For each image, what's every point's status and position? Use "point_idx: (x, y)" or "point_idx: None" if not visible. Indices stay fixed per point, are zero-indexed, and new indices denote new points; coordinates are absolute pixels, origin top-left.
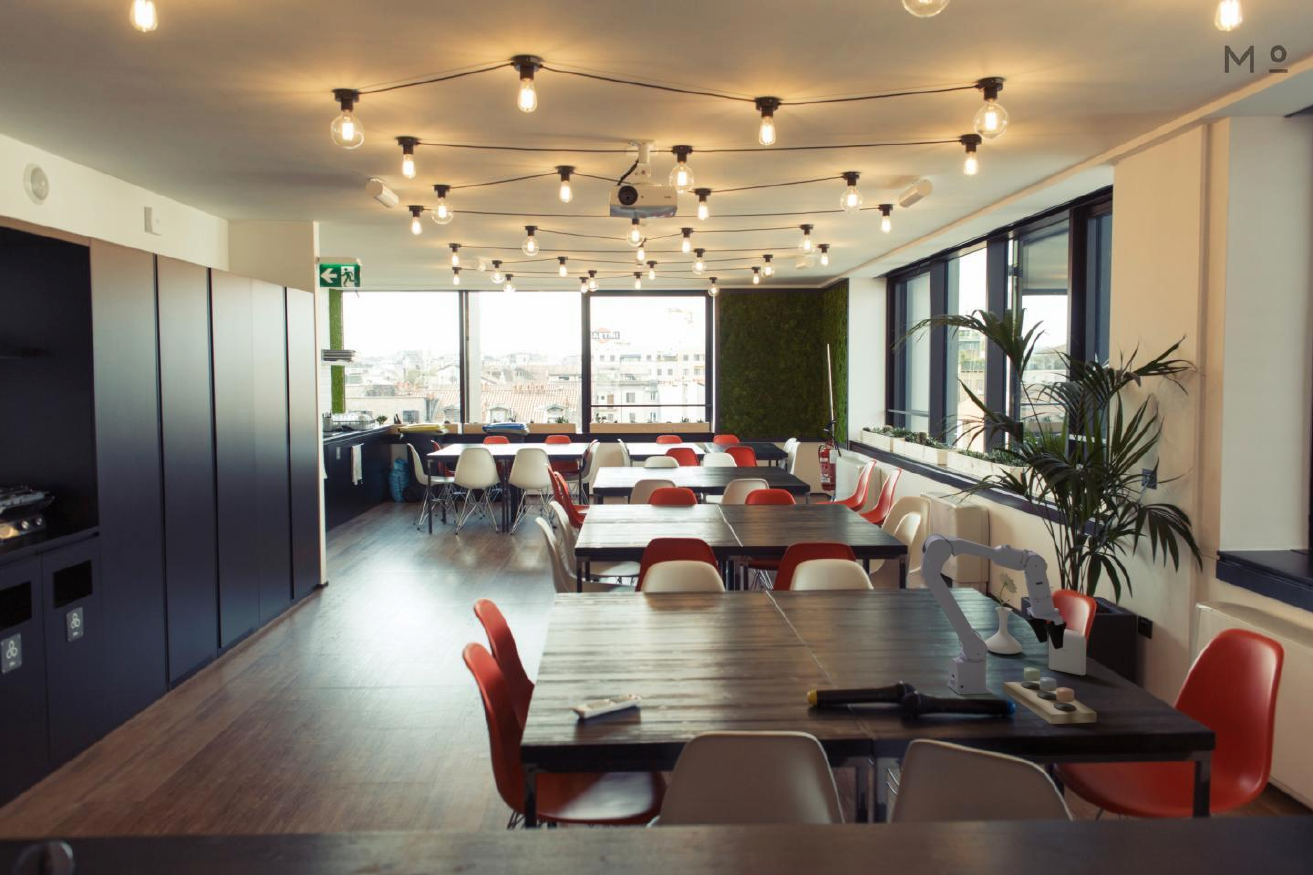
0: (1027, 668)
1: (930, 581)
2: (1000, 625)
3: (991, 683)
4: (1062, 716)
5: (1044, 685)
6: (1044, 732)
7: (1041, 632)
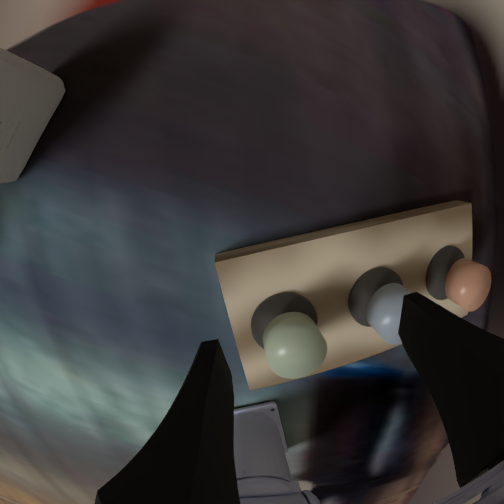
0: (281, 366)
1: None
2: None
3: None
4: None
5: None
6: (476, 324)
7: (224, 419)
